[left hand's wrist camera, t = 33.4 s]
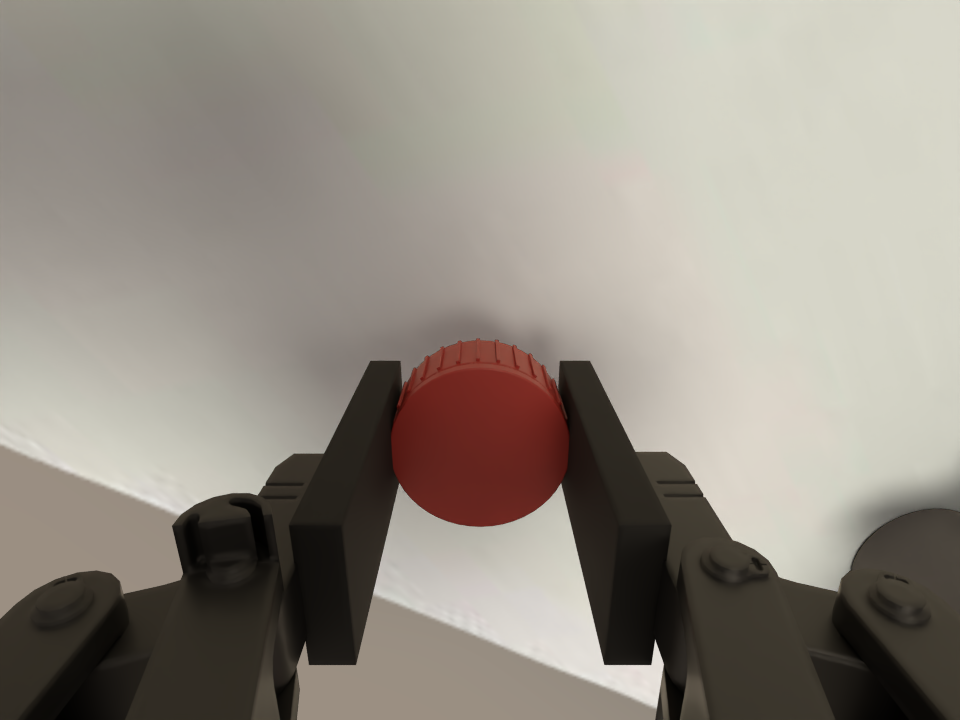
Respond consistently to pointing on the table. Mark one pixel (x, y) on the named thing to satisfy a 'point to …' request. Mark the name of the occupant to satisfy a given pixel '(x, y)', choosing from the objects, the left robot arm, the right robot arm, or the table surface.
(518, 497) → the cap
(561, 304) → the table surface
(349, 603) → the left robot arm
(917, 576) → the bottle
